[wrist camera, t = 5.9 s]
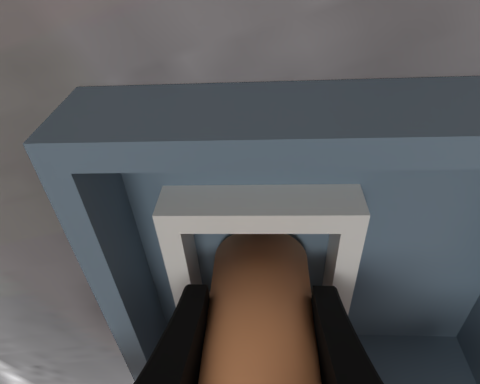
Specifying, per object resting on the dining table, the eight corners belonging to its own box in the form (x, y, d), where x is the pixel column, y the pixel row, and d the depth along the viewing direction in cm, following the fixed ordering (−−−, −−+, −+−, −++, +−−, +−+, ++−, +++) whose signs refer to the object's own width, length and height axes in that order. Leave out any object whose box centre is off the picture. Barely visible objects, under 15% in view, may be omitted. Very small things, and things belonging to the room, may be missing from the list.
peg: (324, 269, 13) (366, 536, 8) (250, 299, 15) (243, 546, 9) (272, 213, 12) (280, 499, 6) (195, 253, 13) (147, 516, 8)
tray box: (617, 72, 9) (733, 132, 7) (463, 334, 17) (496, 405, 15) (76, 87, 10) (22, 143, 8) (157, 328, 18) (140, 394, 16)
